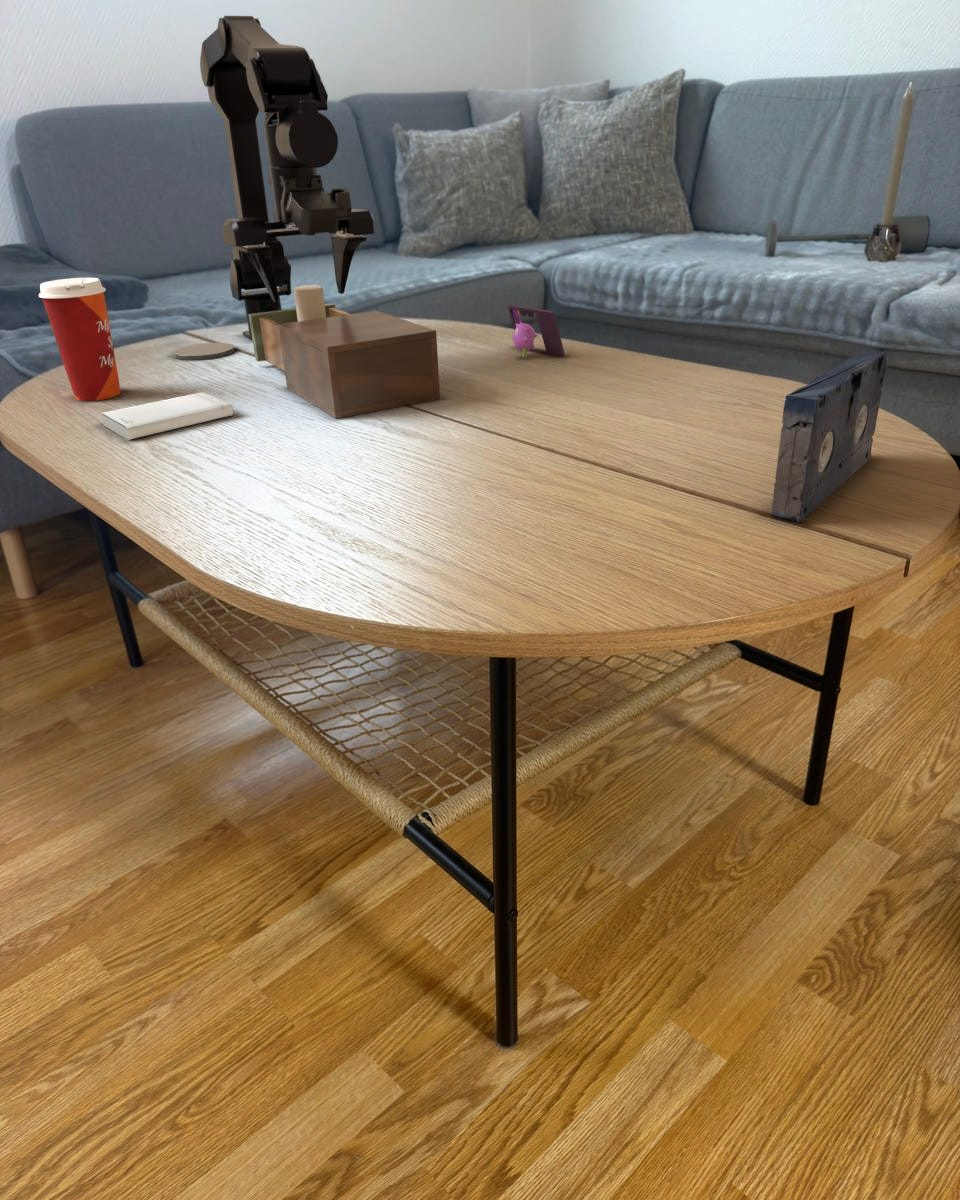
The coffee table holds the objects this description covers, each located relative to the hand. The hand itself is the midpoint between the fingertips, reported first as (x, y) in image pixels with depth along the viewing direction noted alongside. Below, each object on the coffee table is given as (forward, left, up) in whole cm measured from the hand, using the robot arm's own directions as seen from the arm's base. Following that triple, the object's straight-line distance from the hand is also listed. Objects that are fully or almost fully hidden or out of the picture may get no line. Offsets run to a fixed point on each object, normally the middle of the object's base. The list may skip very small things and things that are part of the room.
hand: (309, 297), depth 115 cm
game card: (+11, +28, -10) cm, 32 cm away
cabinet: (+15, 0, -10) cm, 18 cm away
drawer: (-2, 0, -9) cm, 9 cm away
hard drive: (+12, -23, -10) cm, 28 cm away
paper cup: (-6, -28, -10) cm, 30 cm away
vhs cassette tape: (+69, +20, -10) cm, 73 cm away
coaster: (-22, -10, -10) cm, 26 cm away
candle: (0, 0, -8) cm, 8 cm away
